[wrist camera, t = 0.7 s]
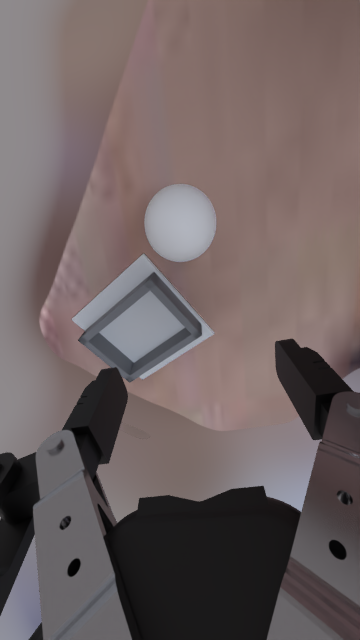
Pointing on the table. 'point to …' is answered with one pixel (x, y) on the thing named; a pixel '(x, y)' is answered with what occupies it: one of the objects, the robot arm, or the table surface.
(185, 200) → the lightbulb
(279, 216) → the table surface
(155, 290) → the grey flat square tray
